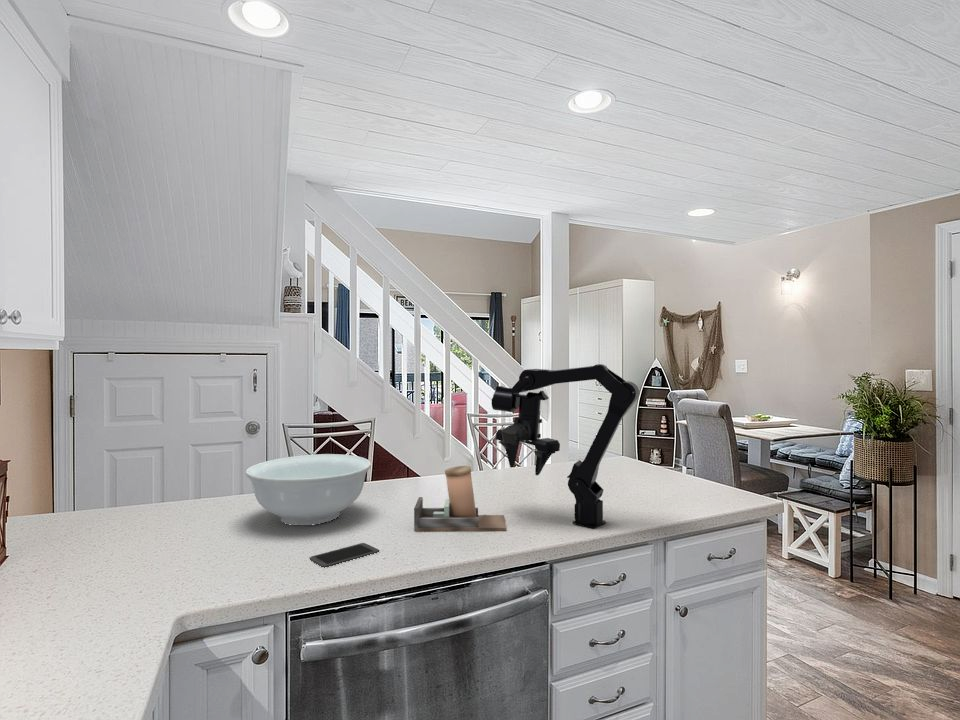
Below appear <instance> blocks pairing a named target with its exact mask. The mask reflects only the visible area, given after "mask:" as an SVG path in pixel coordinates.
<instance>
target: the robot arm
mask: <svg viewBox="0 0 960 720" xmlns="http://www.w3.org/2000/svg"><path fill="white" fill-rule="evenodd" d="M518 377H519V378H518V380H517V382H515V384H514V385H513V386H512V387H506V386H502V385H497V386H495V391H494V393H493V395H492V398H491V408H492V410H494V411H500V412H507V413H514V412H515V411H516V410H518V416H515V417H514V421H513V424H510V425H508V426H507V427H505V428H503V429H500V428H499V429H498V430H497V431H496V432H495V440H496V441H498V443H499V444H500V445H501V446H502V447H503V448H504V450H505V453H506V457H507V460H508V464H509V468H515V464H516V460H517V459H516V458H517V454H518V451H519V445H520V443H523V444H528V445H532V446H534V448H535V450H533V453H534V454H535V470H534V472H535V476H540V474H541V472H542V471H543V469H544V467H545V465H546V463H547V462H548V460H549V459H550V457H551V456H552V454H555V453H556V452H560V450H561V449H560V448H561V444H560V442H559V440H558V439H555V438H554V439H553V438H550V437H543V438H541V437H542V436H541V433H539V427H540V426H539V424H543V419H541V418H540V414H541V401H547V400H549V399H550V398H549V396H548V395H547V394H546V393H545V391H544V390H541V389H543V388H546V387H549V386H553V385H556V384H557V385H558V384H565V383H574V382H583V381H592V380H593V381H595V380H596V381H597V382H598V383H599V384H600V385H601V386H602V387H603V388H604V389H605V390H607V391H608V392H609V393H610V394H611V395H610V399H609V403H608V409H607V412H606V415H605V417H604V419H603V421H602V423H601V425H600V427H599V429H598V430H597V433H596V435H595V437H594V439H593V441H592V443H591V445H590V448H589V449H588V451H587V453H586V456H585V457H584V459H583V461H582V460H580V459H578V461H576V462H574V464H573V465H572V468H571V471H570V473H569V475H567V477H566V478H567V479H568V480H567V481H568V482H567V486H568V489H569V491H570V493H572V494H573V497H574V499H575V503H574V520H572V524H574V525H578V526H582V527H586V528H590V529H597V528H598V527H600V526H602V525H604V524H606V523H607V521H606V520H604V505H603V504H604V500H601V498H602V496H603V493H604V489H603V487H602V486H600V484H599V483H598V482H597V477H598V473H599V468H600V464H601V461H602V460H603V457H604V455H605V453H606V452H607V449H608V447H609V446H610V444H611V441H612V439H613V437H615V433H616V432H617V430H618V427H619V426H620V424H621V421H622V419H623V418H624V417H625V416H626V414H627V413H628V412H629V411H630V409H632V407H633V405H634V404H635V403H636V402H637V400H639V399H638V398H639V397H640V389H639V386H638V385H637V383H634V382H633V381H630V380H629V381H627V380H625V379H624V378H623V377H621V376H619V375H618V374H617V373H615V372H614V371H613V370H611V369H610V368H608V366H606V364H601V363H600V364H598V363H597V364H594V365H590V366H589V365H588V366H581V367H572V368H565V369H543V368H541V369H540V368H529V369H523V370H522V372H520V374H519V376H518ZM539 389H540V391H539V392H534V391H536V390H539ZM528 391H529V392H528ZM532 391H533V392H532ZM525 392H527V393H526V394H523V393H525ZM520 393H522V394H520Z"/></svg>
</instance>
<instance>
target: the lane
mask: <svg viewBox="0 0 960 720" xmlns="http://www.w3.org/2000/svg"><path fill="white" fill-rule="evenodd" d="M423 502H424V498H423V496H419V497H418V498H417V501H416V503H415V505H414V508H413V514H414V515H413V518H414V519H413V522H414V523H413V524H414V525H413V526H414V528H413V531H424V532H506V531H507V525H506V520H505V519H506V518H505V515H504V514H479V507H475V508H476V516H477V517H467V518H451V510H450V518H433V513H434V512H444V507H424V505H423Z"/></svg>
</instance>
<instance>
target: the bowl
mask: <svg viewBox="0 0 960 720" xmlns="http://www.w3.org/2000/svg"><path fill="white" fill-rule="evenodd" d="M371 466H372V464H371V461H370V460H368V459H367V458H365V457H362V456H358V455H351V454H343V453H341V454H338V453H336V454H335V453H321V454H320V453H319V454H316V453H315V454H305V455H296V456H295V455H294V456H287V457H281V458H274V459H272V460H267V461H262V462H260V463H256V464H254V465H251V466H249V467H248V468H247V469H246V470H245V475H246V477H247V478H248V479H249V480H250V482H251V485H252V489H253V493H254V496H255V499H256V501H257V502H258V504H259V505H260V506H261V507H262V508H263V509H264V510H265V511H267V512H269V513H271V514H274V515H276V516H277V517H280V521H281V523H283V522H284V523H286V524H291V525H312V524H319V523H324V522H327V523H329V522H328V521H330V522H332V521H331V520H333V519H335V520H337V519H338V518H339V517H340V516H341V511H342V510H344V509H346V508H348V507H349V506H351V505H352V504H353V503H355V502H356V500H357V499H358V498H359V496H360V495H361V493H362V491H363V488H364V483H365V480H366V474H367V472H368V471H369V470H370V469H371ZM339 515H340V516H339ZM337 517H338V518H337ZM336 518H337V519H336ZM333 521H334V520H333ZM284 523H283V524H284ZM286 524H285V525H286ZM324 524H325V523H324ZM319 525H320V524H319ZM312 526H313V525H312Z"/></svg>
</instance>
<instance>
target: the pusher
mask: <svg viewBox="0 0 960 720" xmlns="http://www.w3.org/2000/svg"><path fill="white" fill-rule="evenodd" d="M444 501H445V502H444V505H443V508H444V512H434V513H433V518H450V502H449V498H446V499H445V500H444Z"/></svg>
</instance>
